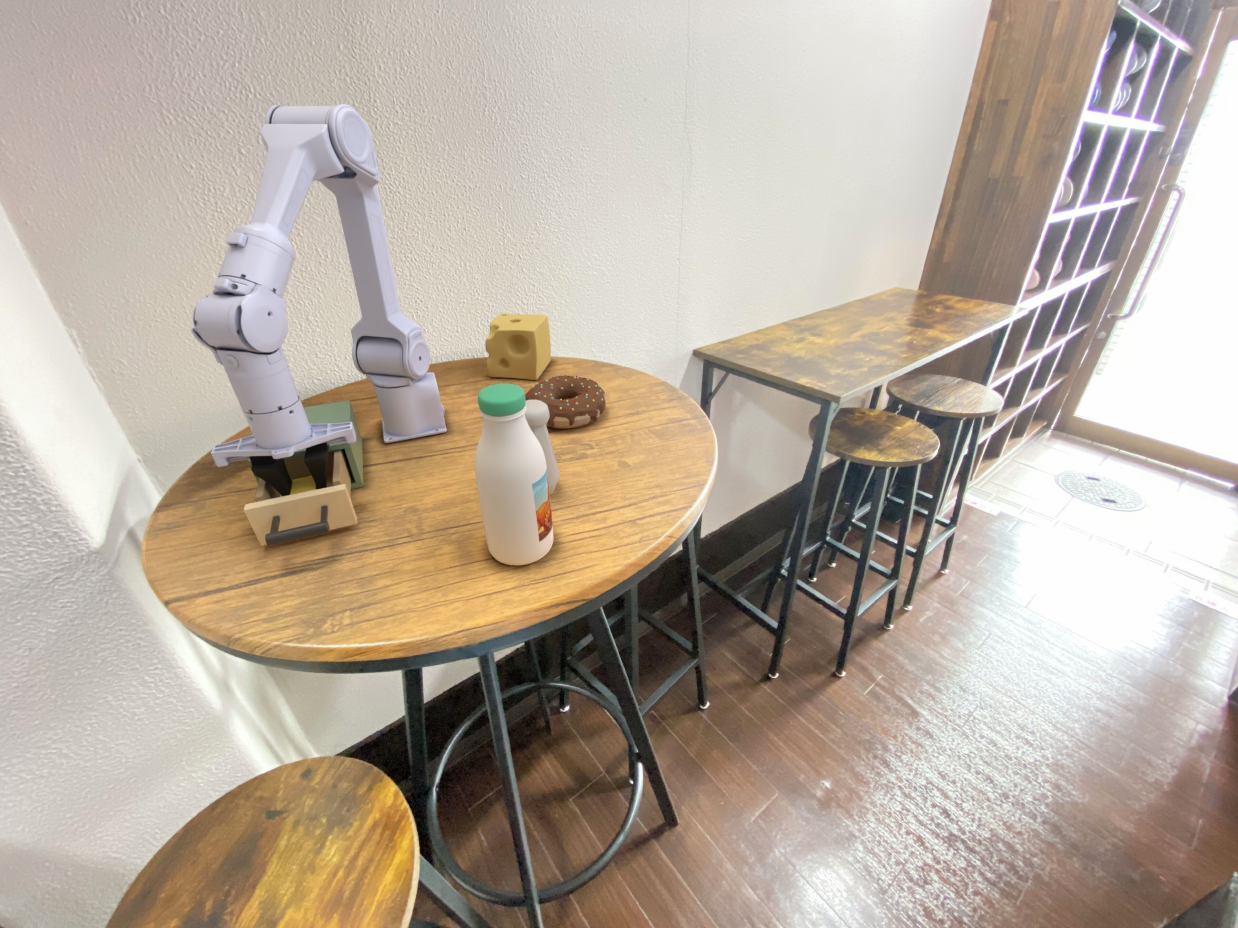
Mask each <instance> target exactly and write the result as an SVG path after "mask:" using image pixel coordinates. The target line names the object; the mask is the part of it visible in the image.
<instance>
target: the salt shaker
mask: <svg viewBox="0 0 1238 928" xmlns="http://www.w3.org/2000/svg"><path fill="white" fill-rule="evenodd" d="M525 406H526V412H525V418H526V420H527V423H528V425H529V427H530V429H531V430H532V432H533V434H534V435H535V436H536V438H537V440H538V441H539V443H540V445H541V447H542V449H543V452H544V456H545V460H546V466H547V473H548V482H549V492H550V496H551V495H553V494H554V492H555V491H556V488H557V485H558V483H559V481H560V478H561V473H560V470H559V466H558V462H557V459H556V454H555V451H554V448H553V445H552V441H551V438H550V434H549V430H548V426H546V423H547V422H548V420H549V418H550V416H549V410H548V406H547V404H545V403H544V402H542V401H540V400H526V404H525Z"/></svg>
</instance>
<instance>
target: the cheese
mask: <svg viewBox="0 0 1238 928" xmlns="http://www.w3.org/2000/svg"><path fill="white" fill-rule="evenodd" d="M484 345H485V352H486V353H487V354H488V357H487V359H486V371H487V374H488V377H489V378H508V379H520V380H531V381H538V380H539V378H540V376H542V374H543V372H544V371H545V370H546V368H547V367H548V365H549V364H550V363H551V361H552V349H551V346H552V345H551V333H550V324H549V317H548V315H545V314H517V313H504V312H502V313H500V314H499V315H497V316H496V317H495V318H494V319H492V321H491V322H490V323H489V335H488V336H487V337H486V340H485V344H484Z"/></svg>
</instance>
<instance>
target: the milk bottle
mask: <svg viewBox="0 0 1238 928" xmlns="http://www.w3.org/2000/svg"><path fill="white" fill-rule="evenodd" d="M525 394H526V392H525V390H524V389H523V388H522V386H520V385H517V384H515V383H506V382H505V383H504V382H503V383H495V384H491V385H487V386H486V387H484V388H482V389H480V391H479V392H478V393H477V403H478V408H479V410H480V411H479V415H480V417H481V418H482V419H483V425H482V431H481V435H480V438H479V441H478V444H477V447H476V451H475V455H474V473H475V481H476V488H477V494H478V500H479V506H480V511H481V517H482V523H483V528H484V529H483V530H484V533H485V539H486V545H487V549H488V551H489V553H490V555H491V556H492V557H493V558H494V559H495V560H496V561H498V562H499V563H502V564H504V565H508V566H526V565H530V564H532V563H535V562H538V561H539V560H541V559H542V558H544V557H545V556H547V554H548V553H550V550H551V549H552V546H553V544H554V526H553V525H554V524H553V514H552V504H551V495H550V492H549V482H548V473H547V466H546V460H545V456H544V452H543V449H542V447H541V445H540V443H539V441H538V440H537V438H536V436H535V435H534V434H533V432H532V430H531V429H530V427H529V425H528V423H527V420H526V418H525V412H526V406H525V404H526V400H525Z"/></svg>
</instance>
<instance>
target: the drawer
mask: <svg viewBox="0 0 1238 928" xmlns="http://www.w3.org/2000/svg"><path fill="white" fill-rule="evenodd" d="M284 462H285V465H286V468H287V471H288V474H289V476H290V478H291V480H292V481H293V480H294V479H299V478H304V477H309V476H312V475H311V473H310V471H309V469H308V468H307V466H306V464H305V462H304V456H302V457H296V458H291V459H285V460H284ZM326 484H327V488H322V489H317V490H312V491H307V492H302V493H298V494H293V495H288V496H283V497H282V495H281V494H280V493H279V492H278V491H277V490H275V489H274V488H273V487H272V486H271V485H269V484H268V483H267V482H265V481H264V480H262V479H259V483H257V487H256V490H255V494H254V502H249V503H245V504H244V507H243V512H244V514H245V517H246V518H247V520H248V523H249V524H250V527H251V528H252V531H253V533H254V534H255V537H256V539H257V541H258V543H259V545H260V546H266V545H267V547H273V546H277V545H282V544H287V543H291V542H296V541H300V540H304V539H309V538H313V537H317V536H321V535H326V534H330V533H331V531H332V530H336V529H340V528H345V527H349V526H353V525H357V524H358V517H357V514H356V510H355V508H354V505H353V502H352V498H351V497H352V496H351V495H352V493H351V492H352V491H351V490H352V489H351V470H350V467H349V464H348V461H347V458H346V455H345V451H344V449H339V450H334V451H329V454H328V460H327V465H326Z"/></svg>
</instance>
